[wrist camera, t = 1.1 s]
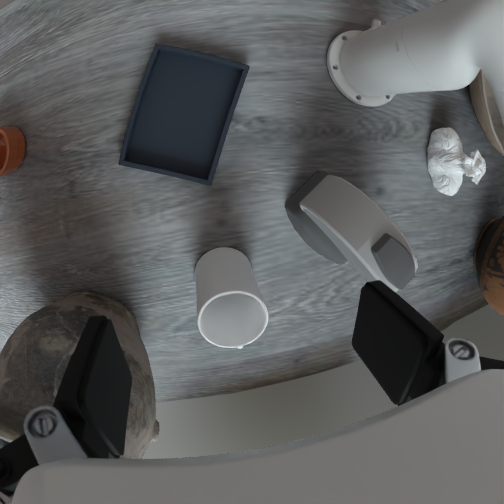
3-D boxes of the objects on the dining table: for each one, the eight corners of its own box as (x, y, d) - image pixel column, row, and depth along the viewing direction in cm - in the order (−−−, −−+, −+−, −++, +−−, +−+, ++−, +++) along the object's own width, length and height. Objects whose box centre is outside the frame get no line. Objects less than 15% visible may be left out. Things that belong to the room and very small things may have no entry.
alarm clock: (376, 228, 45) (452, 276, 28) (333, 271, 46) (394, 338, 30) (318, 153, 38) (399, 170, 22) (267, 203, 40) (319, 254, 23)
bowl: (488, 179, 46) (521, 190, 37) (429, 91, 37) (470, 90, 28) (515, 103, 40) (544, 107, 31) (463, 18, 30) (496, 13, 21)
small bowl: (-2, 124, 27) (-20, 125, 22) (31, 127, 29) (13, 128, 24) (-8, 170, 29) (-26, 176, 24) (23, 176, 31) (5, 182, 26)
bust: (430, 187, 46) (483, 195, 39) (424, 197, 41) (485, 206, 34) (427, 125, 41) (483, 130, 34) (422, 125, 36) (486, 131, 29)
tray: (158, 48, 29) (156, 43, 27) (246, 70, 32) (250, 66, 30) (122, 162, 34) (118, 164, 32) (210, 183, 37) (211, 186, 35)
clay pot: (86, 240, 37) (-27, 399, 10) (189, 339, 46) (200, 513, 19) (23, 317, 39) (-47, 443, 12) (111, 390, 48) (94, 523, 21)
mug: (254, 311, 46) (272, 361, 35) (202, 318, 45) (206, 372, 34) (249, 243, 42) (269, 283, 31) (190, 250, 40) (189, 294, 30)
